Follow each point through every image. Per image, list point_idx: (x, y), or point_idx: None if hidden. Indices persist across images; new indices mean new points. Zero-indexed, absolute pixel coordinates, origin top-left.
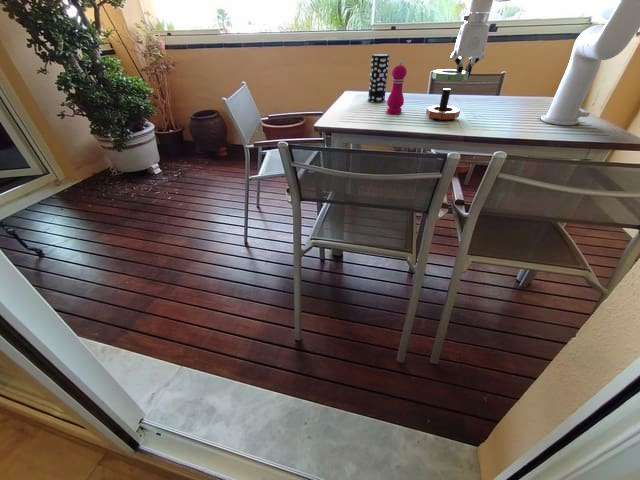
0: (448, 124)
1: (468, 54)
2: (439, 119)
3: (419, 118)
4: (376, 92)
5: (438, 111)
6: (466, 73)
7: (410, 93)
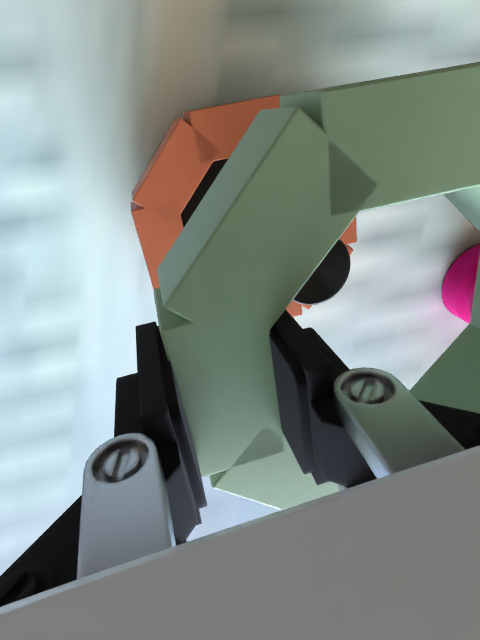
0: (220, 23)
1: (448, 520)
2: None
3: None
4: None
5: None
6: (225, 212)
7: None
